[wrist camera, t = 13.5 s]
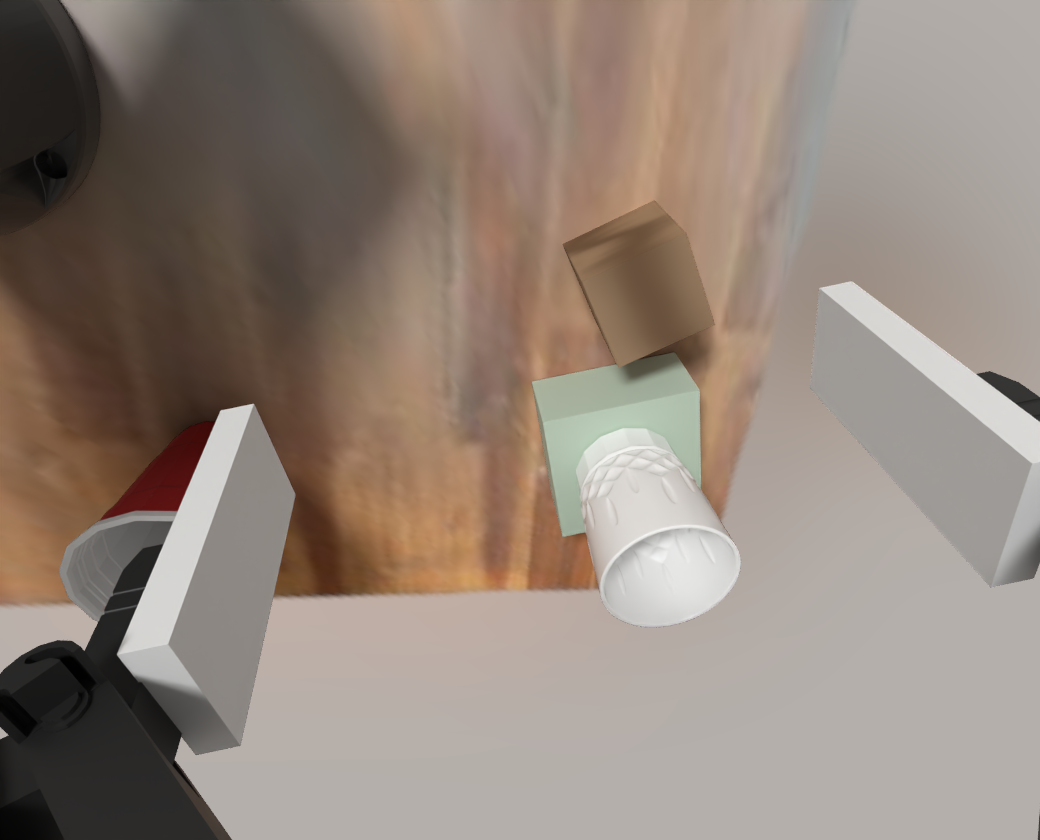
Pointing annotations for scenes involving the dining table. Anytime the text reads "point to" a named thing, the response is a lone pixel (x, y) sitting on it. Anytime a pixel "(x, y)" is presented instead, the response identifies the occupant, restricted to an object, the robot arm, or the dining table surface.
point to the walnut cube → (640, 282)
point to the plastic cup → (132, 523)
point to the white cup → (652, 532)
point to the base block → (613, 419)
